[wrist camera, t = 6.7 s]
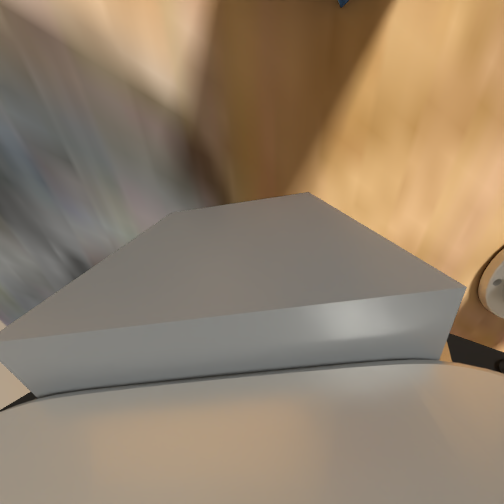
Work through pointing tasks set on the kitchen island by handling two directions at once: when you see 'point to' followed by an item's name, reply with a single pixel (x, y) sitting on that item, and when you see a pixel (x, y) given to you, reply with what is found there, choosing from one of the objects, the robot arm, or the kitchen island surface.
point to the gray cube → (235, 301)
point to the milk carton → (342, 2)
